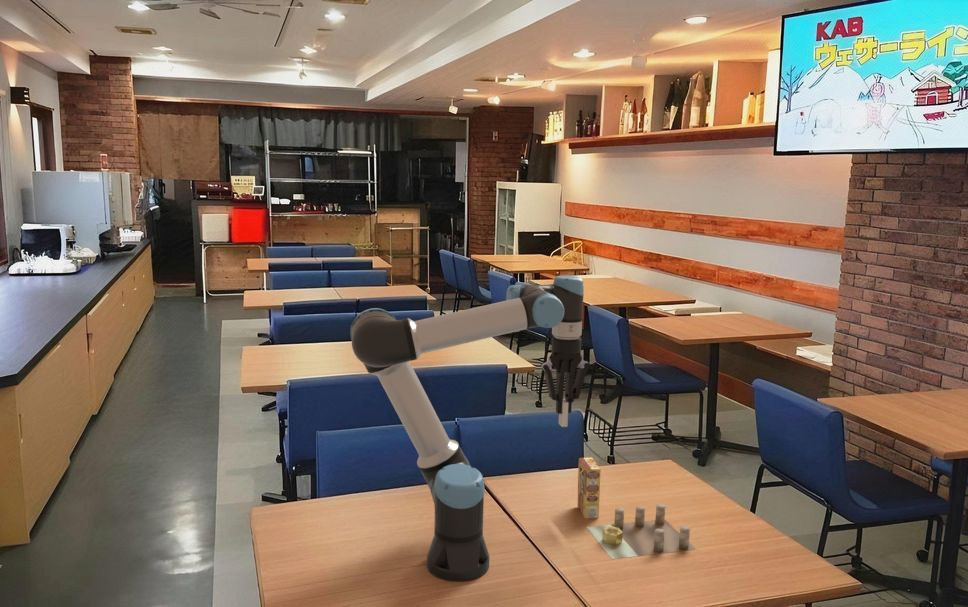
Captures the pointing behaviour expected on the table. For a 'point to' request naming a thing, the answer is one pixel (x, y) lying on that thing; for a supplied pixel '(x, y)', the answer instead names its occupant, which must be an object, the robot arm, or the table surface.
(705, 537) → the table surface
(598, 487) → the candy box
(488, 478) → the table surface
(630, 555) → the board
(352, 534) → the table surface
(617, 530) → the wooden star polyhedron
